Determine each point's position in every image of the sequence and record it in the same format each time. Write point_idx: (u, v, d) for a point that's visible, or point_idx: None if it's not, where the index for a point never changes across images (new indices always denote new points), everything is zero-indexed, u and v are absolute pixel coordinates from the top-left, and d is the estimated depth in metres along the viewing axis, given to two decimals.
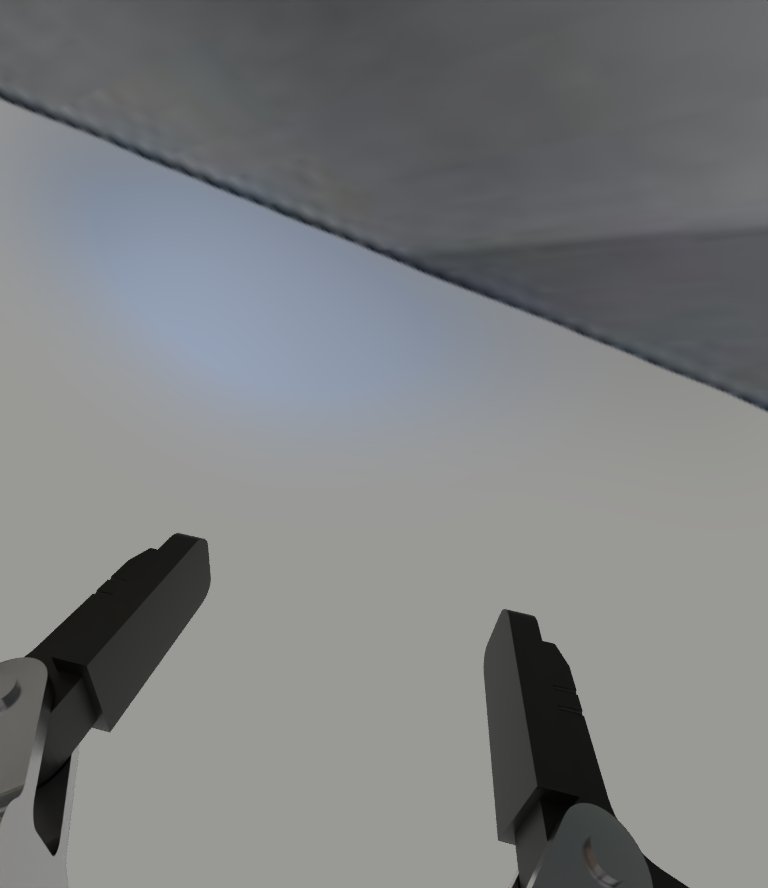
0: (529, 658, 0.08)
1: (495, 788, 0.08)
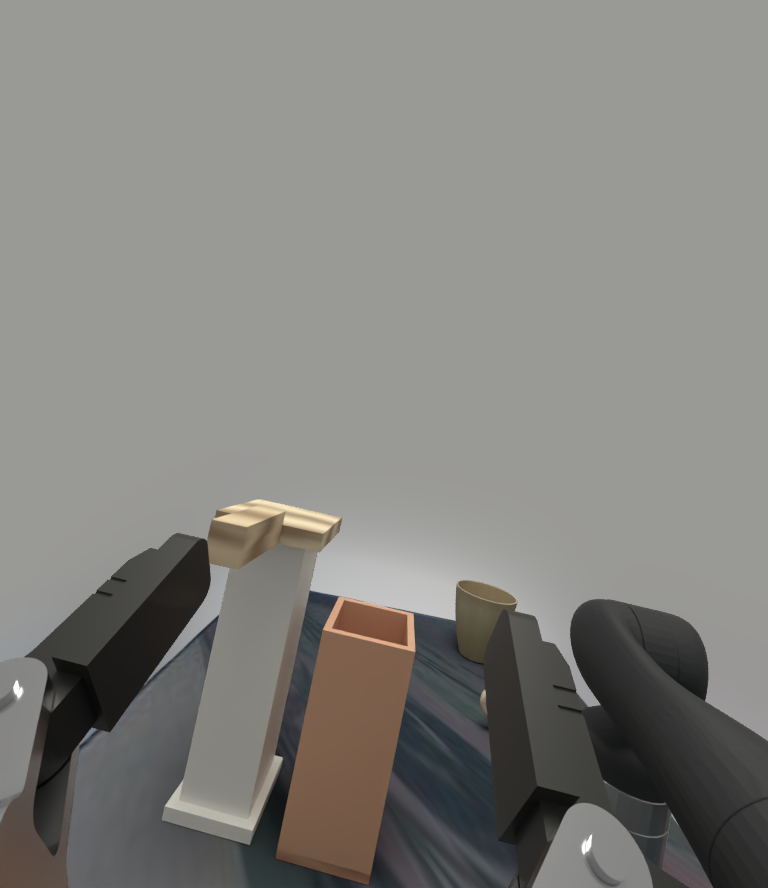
0: (529, 657, 0.08)
1: (496, 788, 0.08)
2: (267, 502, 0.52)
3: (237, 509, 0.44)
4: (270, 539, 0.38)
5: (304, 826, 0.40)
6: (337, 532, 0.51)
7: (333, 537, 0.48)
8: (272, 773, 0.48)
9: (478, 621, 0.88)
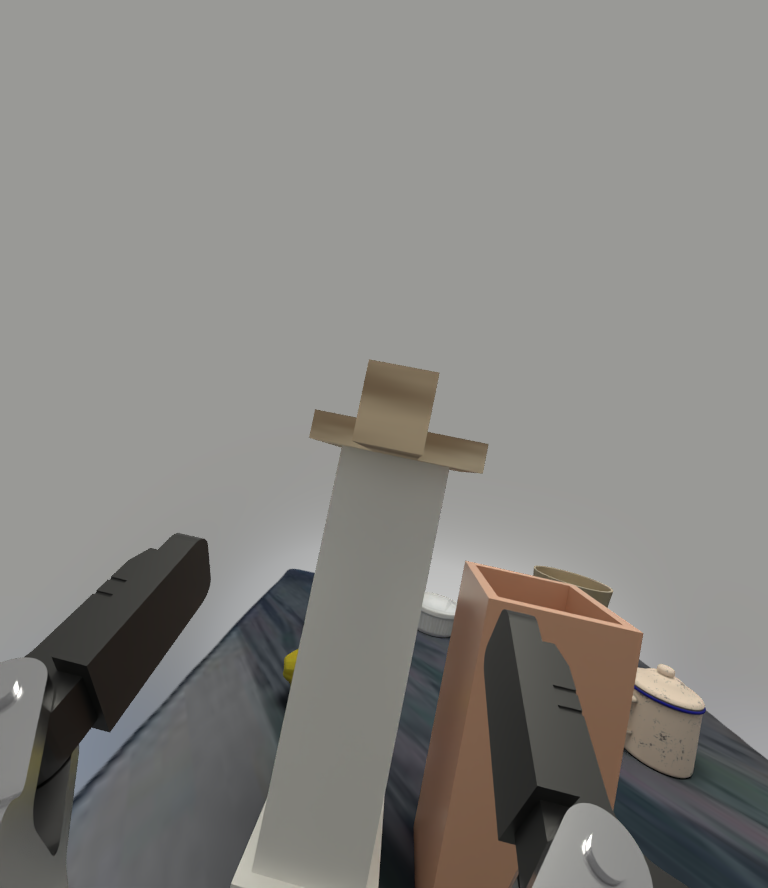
0: (529, 657, 0.08)
1: (495, 788, 0.08)
2: None
3: None
4: None
5: None
6: None
7: None
8: None
9: None
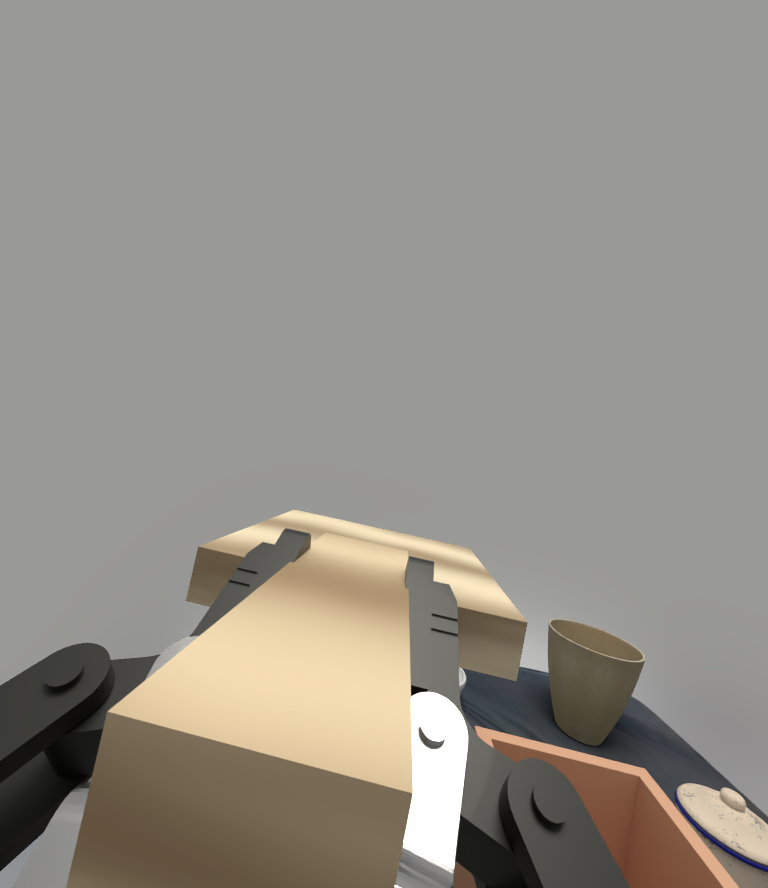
0: (417, 590, 0.09)
1: None
2: (313, 516, 0.25)
3: (256, 540, 0.16)
4: None
5: None
6: None
7: None
8: None
9: (594, 686, 0.60)
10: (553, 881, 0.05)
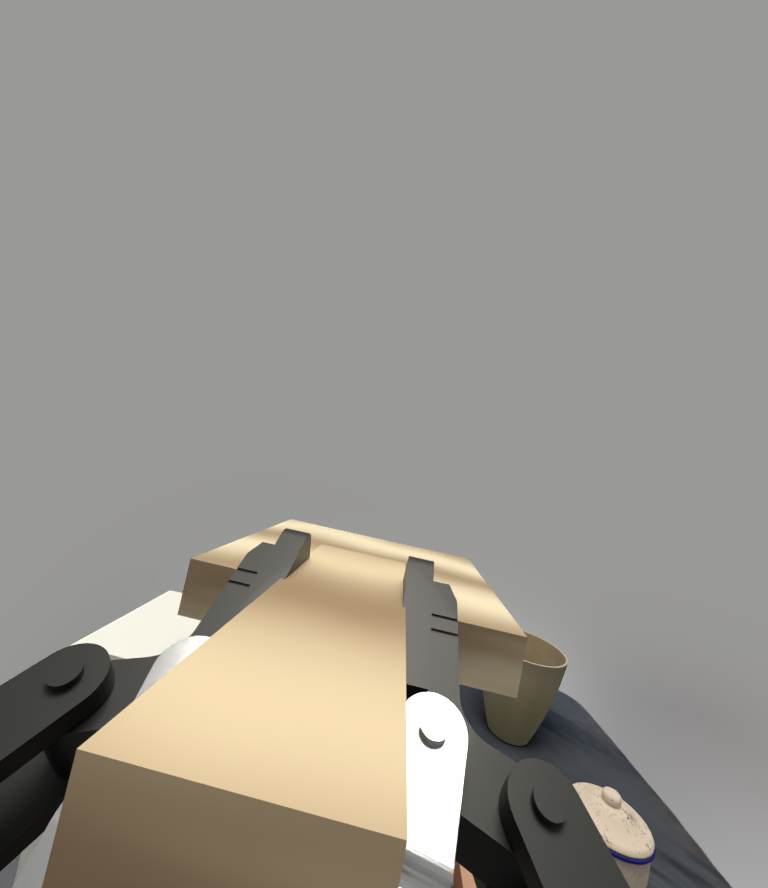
0: (417, 591, 0.09)
1: None
2: (310, 526, 0.24)
3: None
4: None
5: None
6: None
7: None
8: None
9: None
10: (553, 882, 0.05)
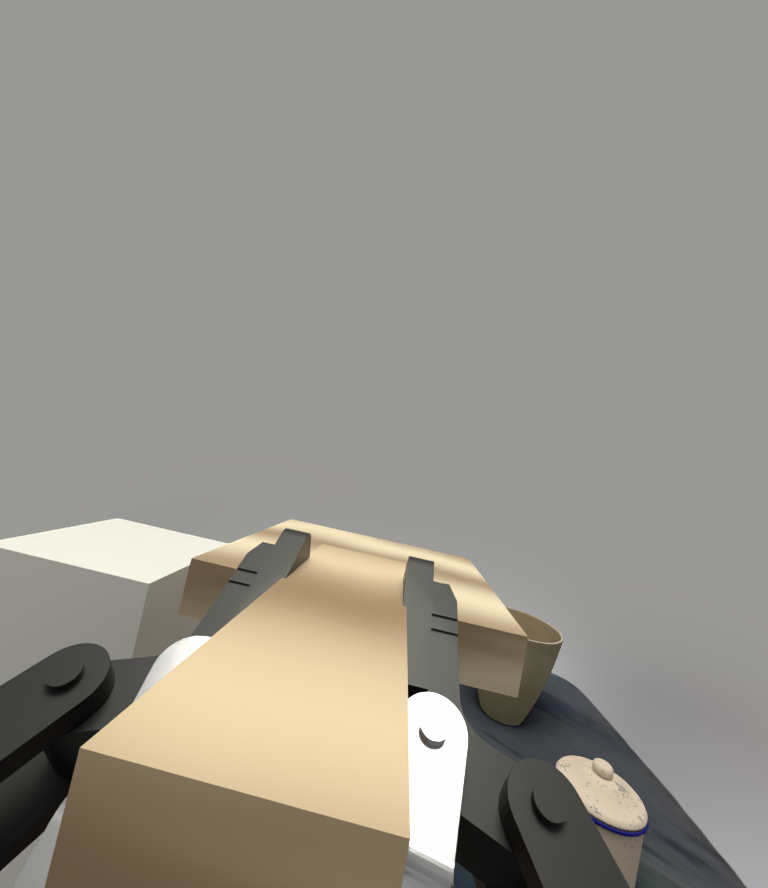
0: (417, 591, 0.09)
1: None
2: (310, 526, 0.24)
3: None
4: None
5: None
6: None
7: None
8: None
9: None
10: (553, 882, 0.05)
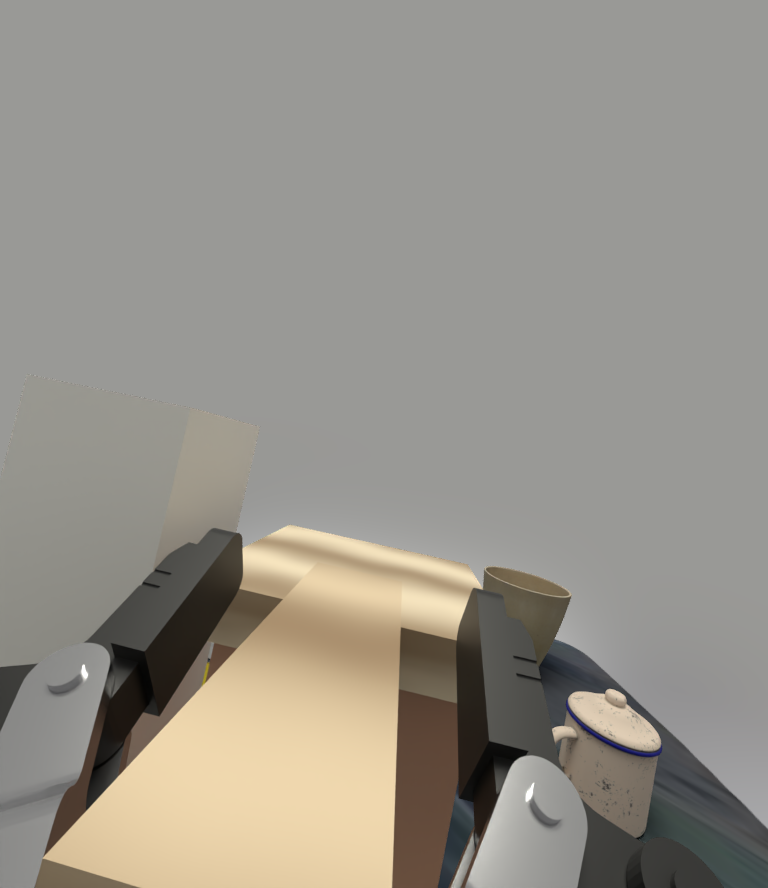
0: (492, 630, 0.09)
1: (459, 751, 0.08)
2: (308, 532, 0.24)
3: (248, 565, 0.16)
4: None
5: None
6: None
7: None
8: None
9: None
10: None
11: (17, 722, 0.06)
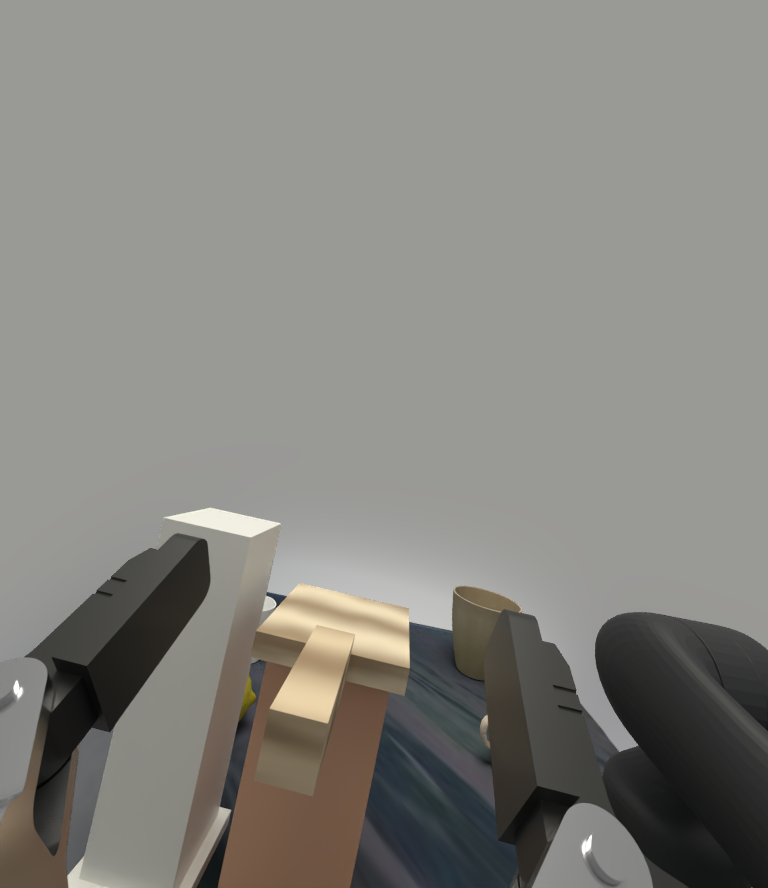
0: (529, 657, 0.08)
1: (496, 788, 0.08)
2: (311, 589, 0.40)
3: (281, 621, 0.31)
4: (341, 691, 0.25)
5: None
6: None
7: None
8: (214, 834, 0.37)
9: (477, 632, 0.77)
10: None
11: None
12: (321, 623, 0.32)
